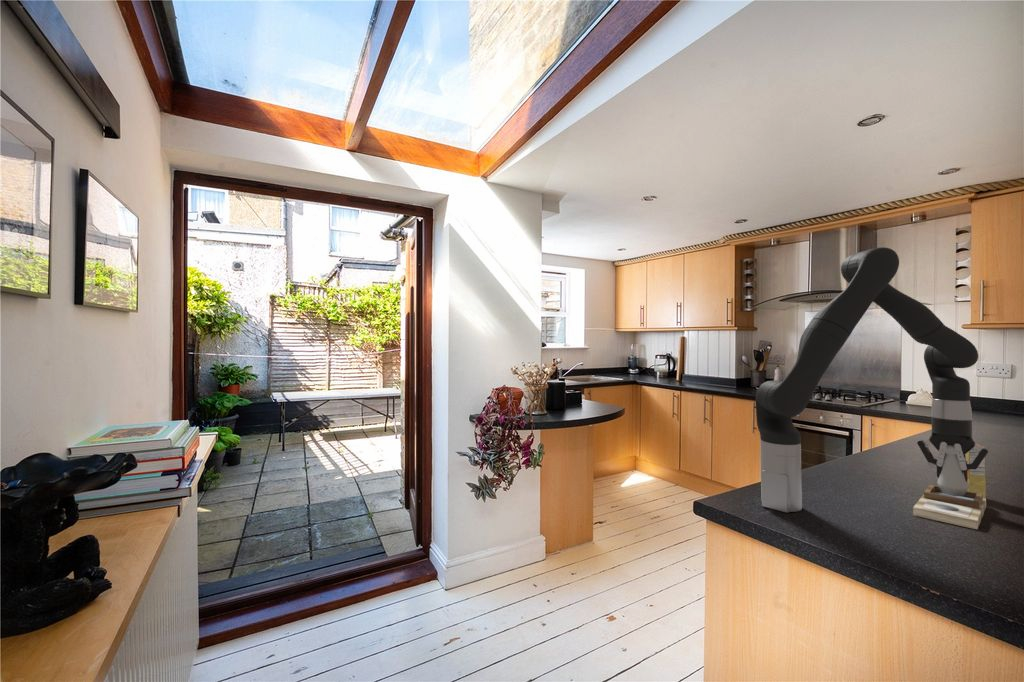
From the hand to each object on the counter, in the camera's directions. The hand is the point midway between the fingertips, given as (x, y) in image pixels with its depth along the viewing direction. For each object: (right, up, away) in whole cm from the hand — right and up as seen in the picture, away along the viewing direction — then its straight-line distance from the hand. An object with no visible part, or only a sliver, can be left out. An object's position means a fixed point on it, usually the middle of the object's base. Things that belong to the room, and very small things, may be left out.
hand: (952, 481), depth 114 cm
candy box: (+11, -7, +7) cm, 15 cm away
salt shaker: (0, -3, 0) cm, 3 cm away
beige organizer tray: (-4, -6, -3) cm, 8 cm away
